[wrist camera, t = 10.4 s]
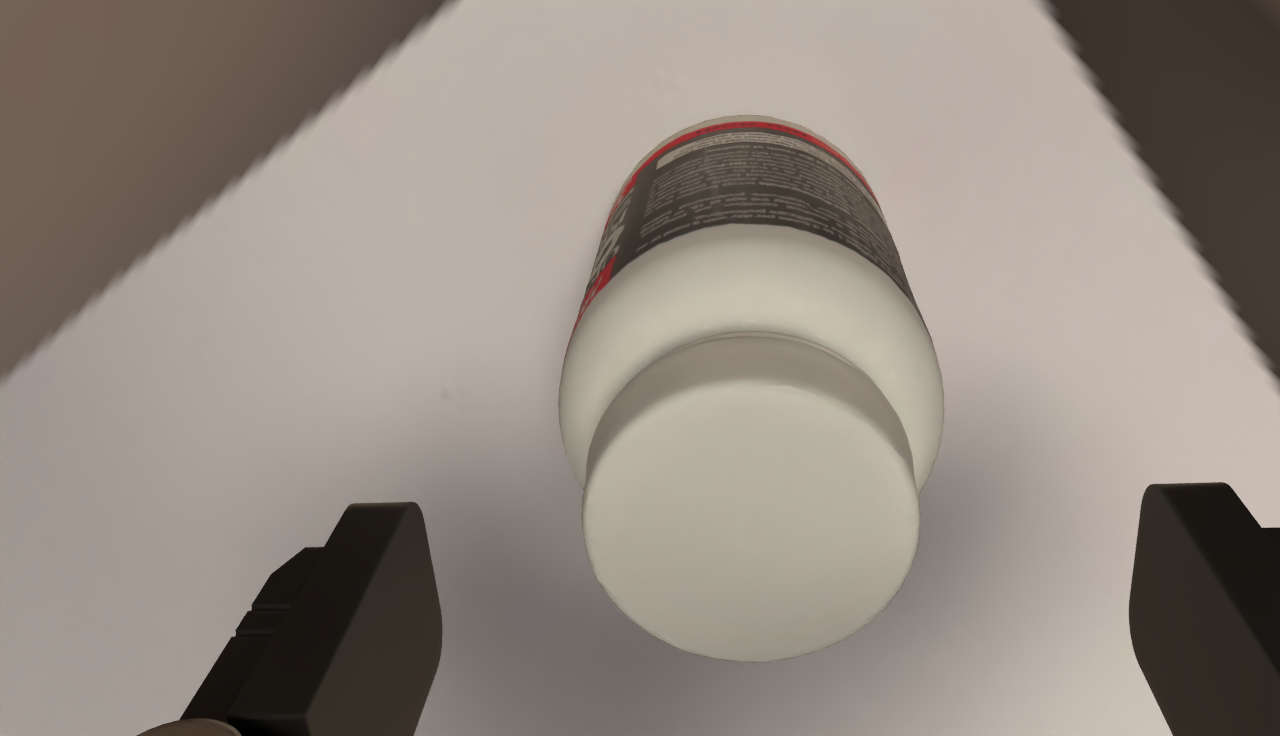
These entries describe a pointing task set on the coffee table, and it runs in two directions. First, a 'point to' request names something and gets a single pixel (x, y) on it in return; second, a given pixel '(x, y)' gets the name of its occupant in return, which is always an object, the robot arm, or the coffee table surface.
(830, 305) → the pill bottle
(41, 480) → the coffee table surface
